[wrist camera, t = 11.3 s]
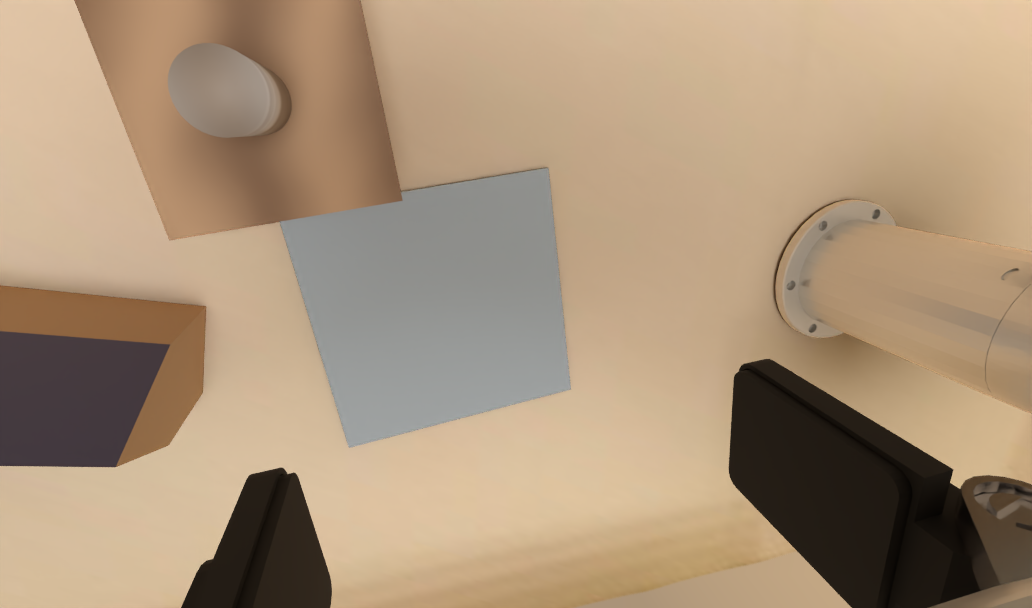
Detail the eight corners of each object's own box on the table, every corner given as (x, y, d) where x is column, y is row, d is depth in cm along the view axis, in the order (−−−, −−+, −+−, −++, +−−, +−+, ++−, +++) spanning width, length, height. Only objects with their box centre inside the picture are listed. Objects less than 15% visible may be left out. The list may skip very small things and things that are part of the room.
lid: (350, -46, 22) (341, -112, 16) (401, 198, 26) (410, 220, 20) (72, -27, 20) (-61, -95, 14) (175, 237, 24) (107, 274, 18)
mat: (546, 167, 35) (548, 168, 35) (569, 387, 41) (570, 389, 41) (278, 212, 31) (276, 213, 31) (349, 444, 38) (349, 447, 37)
